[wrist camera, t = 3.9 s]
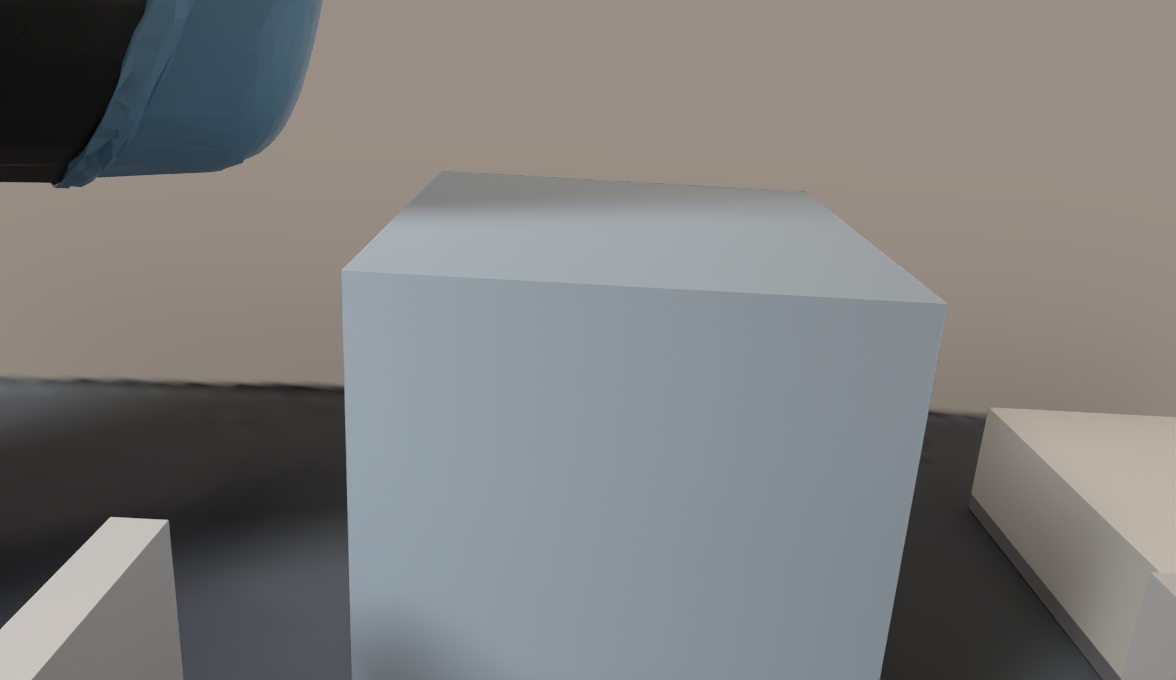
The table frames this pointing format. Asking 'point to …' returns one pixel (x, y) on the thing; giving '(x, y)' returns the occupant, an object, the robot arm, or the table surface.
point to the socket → (1082, 515)
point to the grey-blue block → (628, 434)
